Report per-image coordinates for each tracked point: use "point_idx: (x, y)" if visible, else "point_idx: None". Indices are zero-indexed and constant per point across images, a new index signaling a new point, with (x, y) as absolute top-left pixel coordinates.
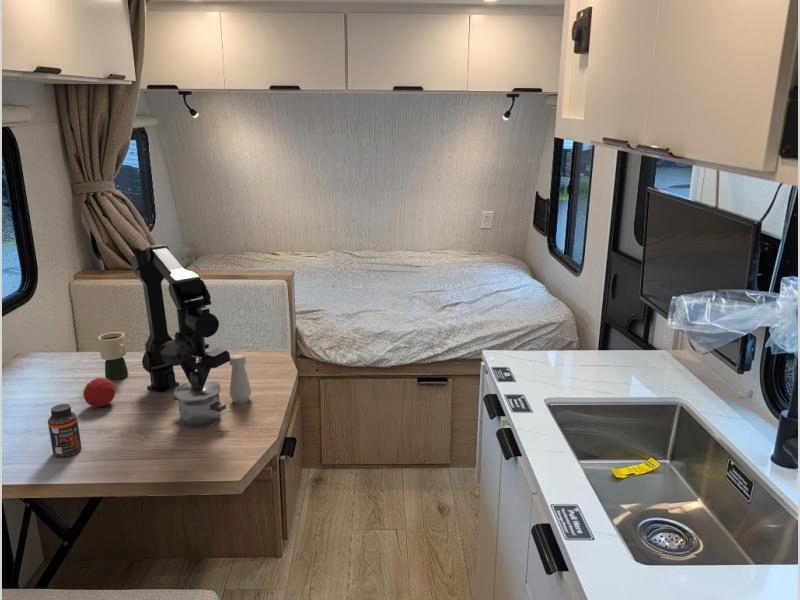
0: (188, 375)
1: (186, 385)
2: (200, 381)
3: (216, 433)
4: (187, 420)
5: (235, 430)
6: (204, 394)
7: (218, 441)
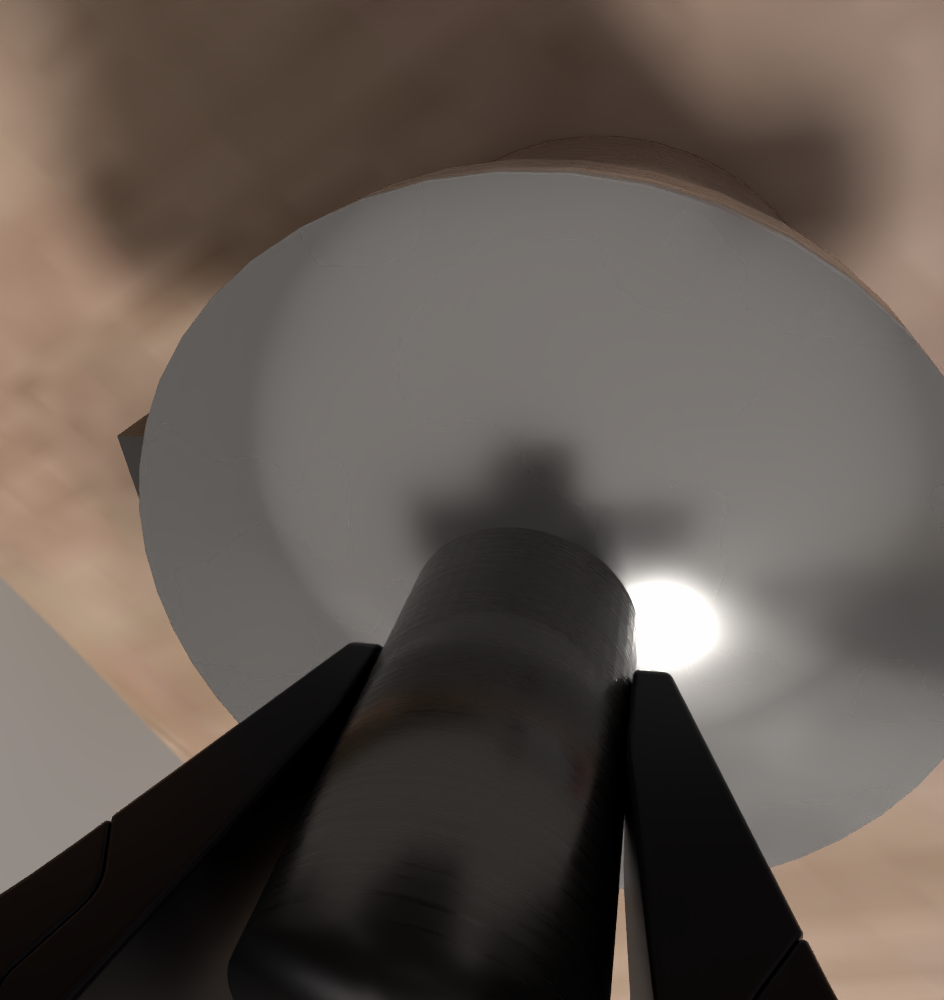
0: (633, 842)
1: (845, 663)
2: (271, 716)
3: (183, 209)
4: (535, 153)
5: (109, 348)
6: (215, 494)
7: (19, 82)
